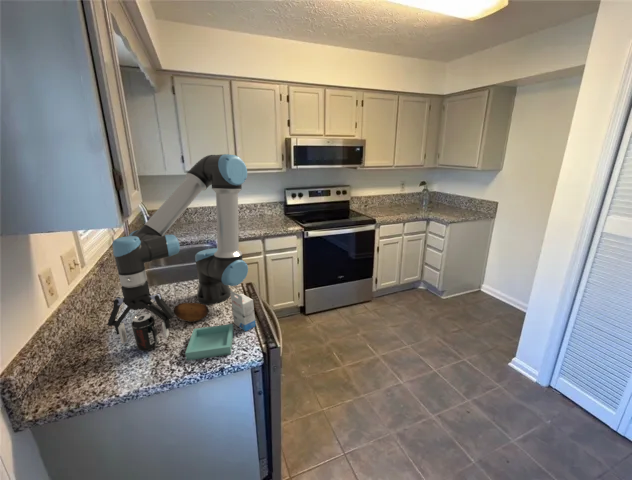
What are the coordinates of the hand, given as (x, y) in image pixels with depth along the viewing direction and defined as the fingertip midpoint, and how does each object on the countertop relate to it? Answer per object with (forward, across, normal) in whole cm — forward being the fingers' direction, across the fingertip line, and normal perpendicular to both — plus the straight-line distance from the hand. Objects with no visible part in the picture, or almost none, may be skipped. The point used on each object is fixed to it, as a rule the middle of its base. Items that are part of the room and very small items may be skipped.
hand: (146, 339), depth 102 cm
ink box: (+3, +33, +6) cm, 34 cm away
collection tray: (+3, +22, -4) cm, 23 cm away
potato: (+3, +12, +15) cm, 20 cm away
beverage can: (+4, 0, 0) cm, 4 cm away
